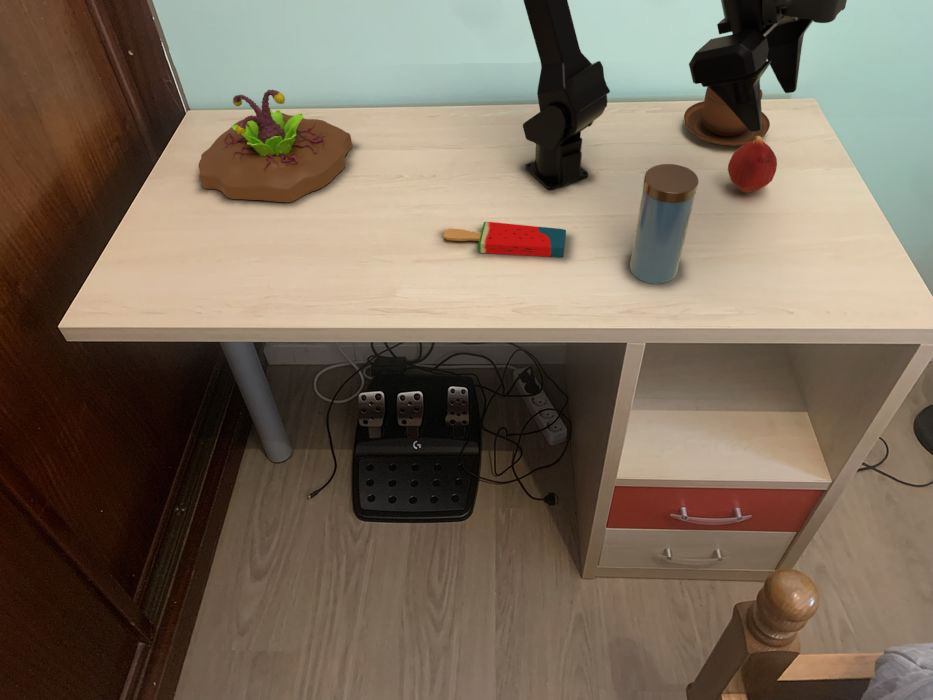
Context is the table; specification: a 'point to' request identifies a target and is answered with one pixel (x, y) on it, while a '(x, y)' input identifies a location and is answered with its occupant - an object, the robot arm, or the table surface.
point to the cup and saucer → (720, 122)
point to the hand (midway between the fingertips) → (773, 110)
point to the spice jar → (662, 222)
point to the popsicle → (514, 239)
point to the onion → (752, 166)
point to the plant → (274, 155)
